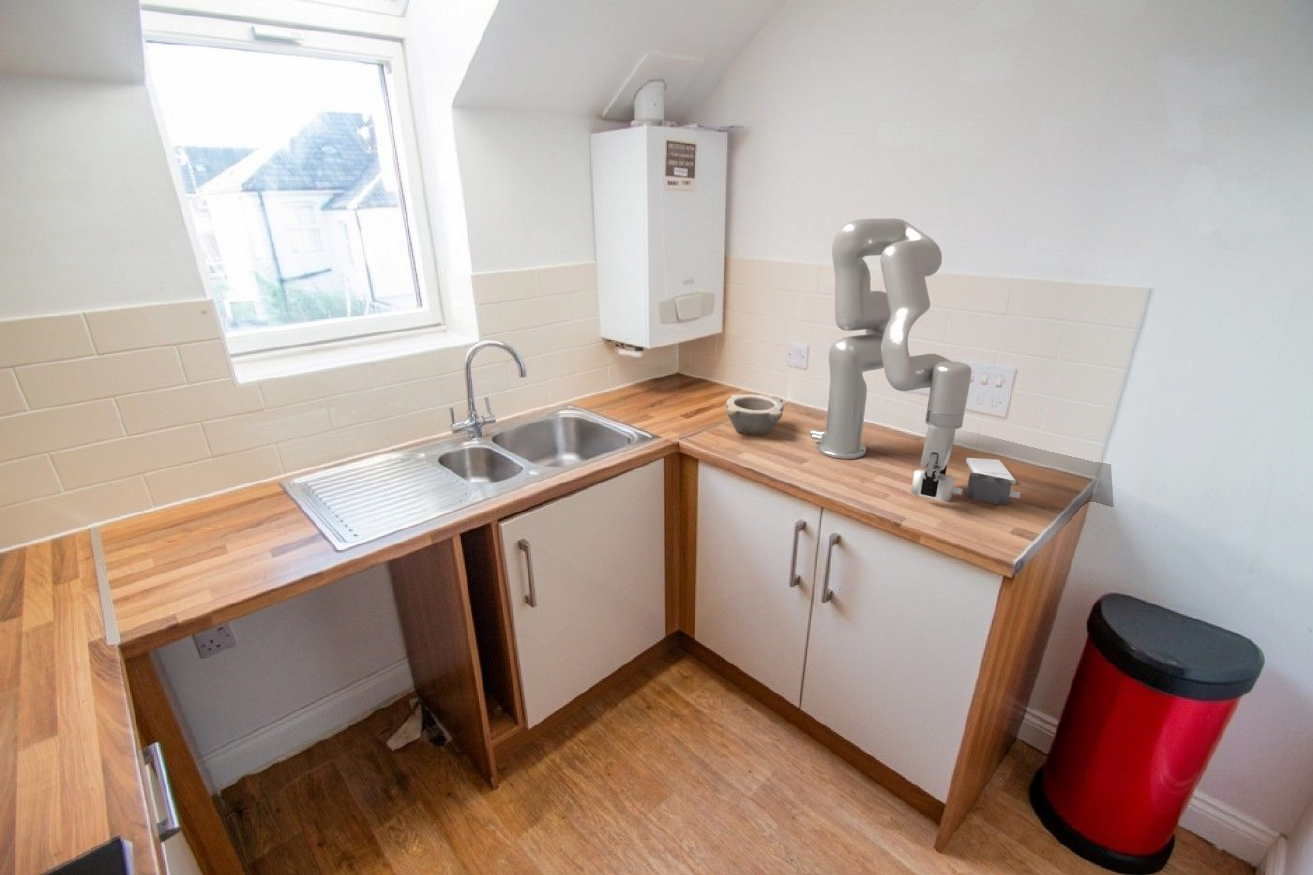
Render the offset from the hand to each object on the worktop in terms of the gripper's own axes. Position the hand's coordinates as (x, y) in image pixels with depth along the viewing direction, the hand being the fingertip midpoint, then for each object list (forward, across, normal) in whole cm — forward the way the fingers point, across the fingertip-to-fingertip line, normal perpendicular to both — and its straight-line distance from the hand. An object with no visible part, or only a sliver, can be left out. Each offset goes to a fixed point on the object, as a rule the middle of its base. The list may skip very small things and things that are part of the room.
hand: (932, 487), depth 139 cm
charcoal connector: (+2, -5, +11) cm, 12 cm away
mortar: (+2, -16, -53) cm, 56 cm away
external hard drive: (+3, -21, +10) cm, 23 cm away
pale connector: (+2, 0, 0) cm, 2 cm away
